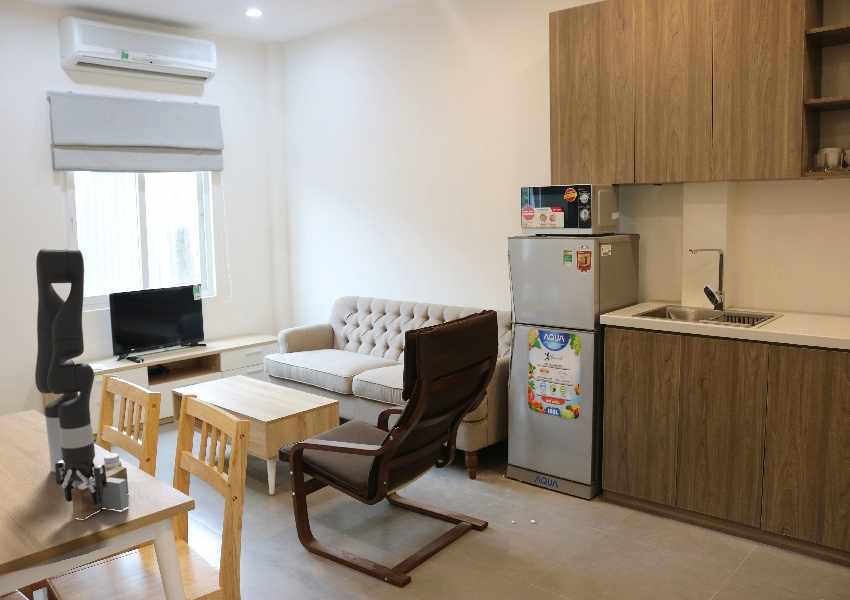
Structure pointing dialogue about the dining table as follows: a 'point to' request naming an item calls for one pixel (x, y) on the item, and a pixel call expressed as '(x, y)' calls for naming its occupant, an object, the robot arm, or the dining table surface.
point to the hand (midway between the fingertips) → (83, 502)
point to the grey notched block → (113, 494)
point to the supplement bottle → (111, 461)
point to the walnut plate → (83, 494)
